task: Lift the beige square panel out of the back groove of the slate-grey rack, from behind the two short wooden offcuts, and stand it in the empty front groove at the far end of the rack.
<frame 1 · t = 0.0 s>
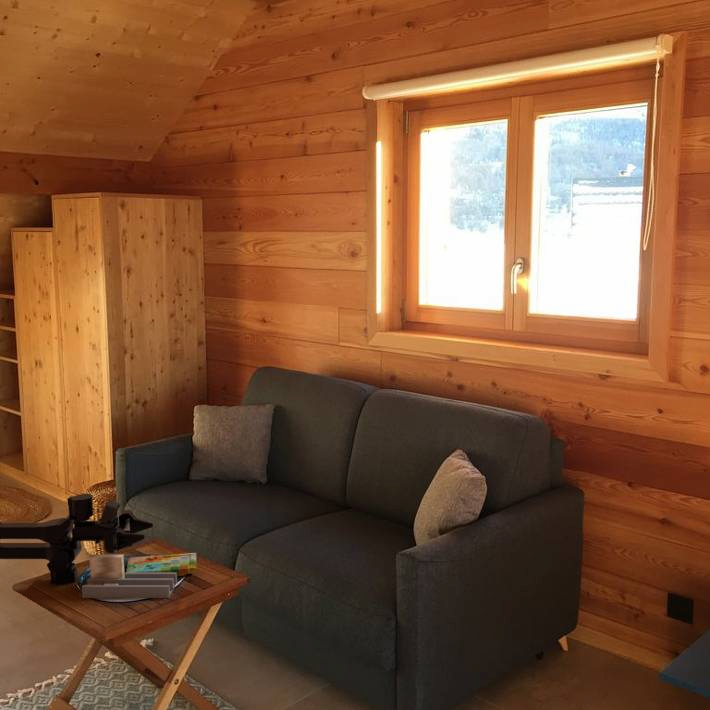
hand: (148, 530, 250), 17 cm above the table, tool horizontal, fingers open, 9 cm apart
offcut light: (110, 592, 245), point 1 cm above the table, touching rack
beige square panel: (108, 586, 249), point 1 cm above the table, touching rack
puzzle game: (162, 576, 260), on the table
offcut dark: (94, 592, 245), point 1 cm above the table, touching rack
rack: (130, 594, 247), on the table
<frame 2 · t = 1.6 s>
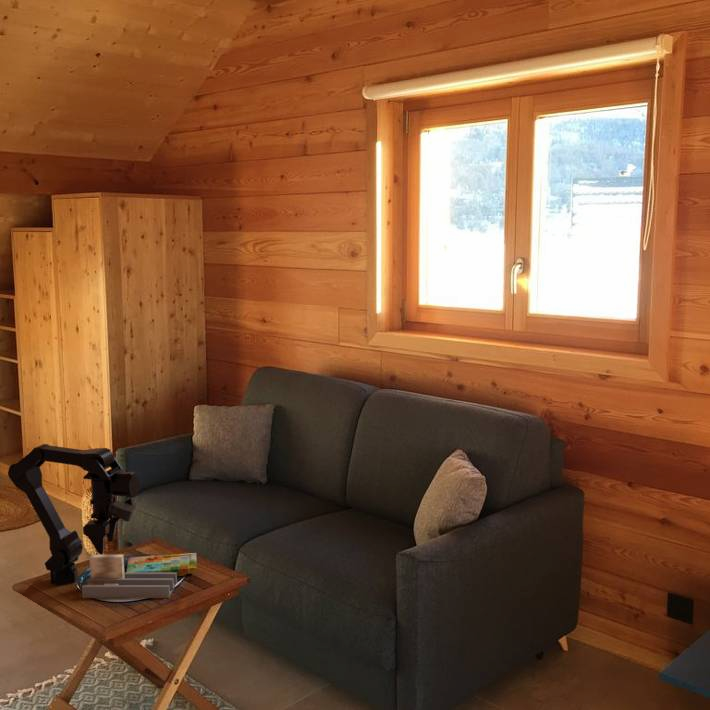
hand: (106, 547, 247), 13 cm above the table, tool pointing down, fingers open, 9 cm apart
nothing on the table moved.
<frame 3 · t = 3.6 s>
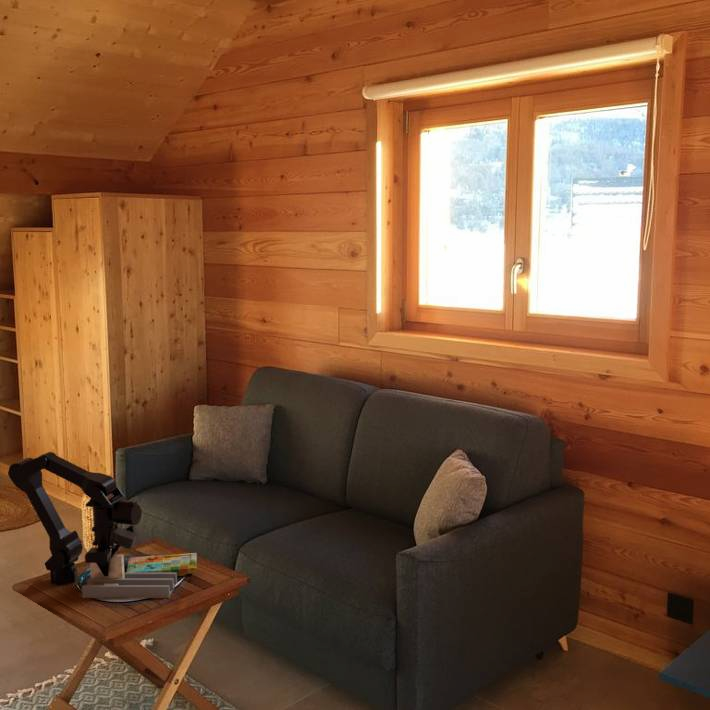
hand: (107, 574, 248), 5 cm above the table, tool pointing down, fingers closed on beige square panel, 2 cm apart
beige square panel: (108, 586, 249), point 1 cm above the table, touching gripper, rack
everything else where it was.
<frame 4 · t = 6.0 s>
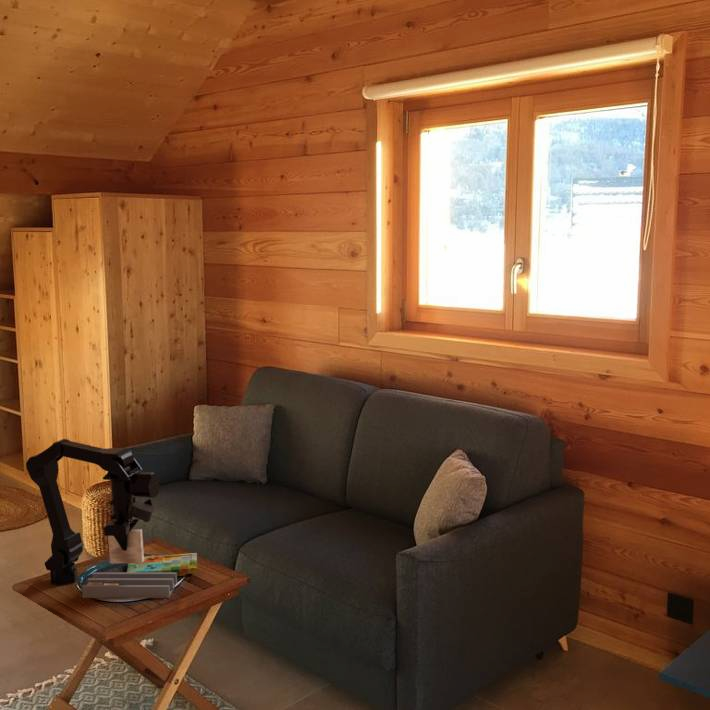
hand: (126, 548, 245), 13 cm above the table, tool pointing down, fingers closed on beige square panel
beige square panel: (127, 561, 246), point 10 cm above the table, touching gripper
everything else where it was.
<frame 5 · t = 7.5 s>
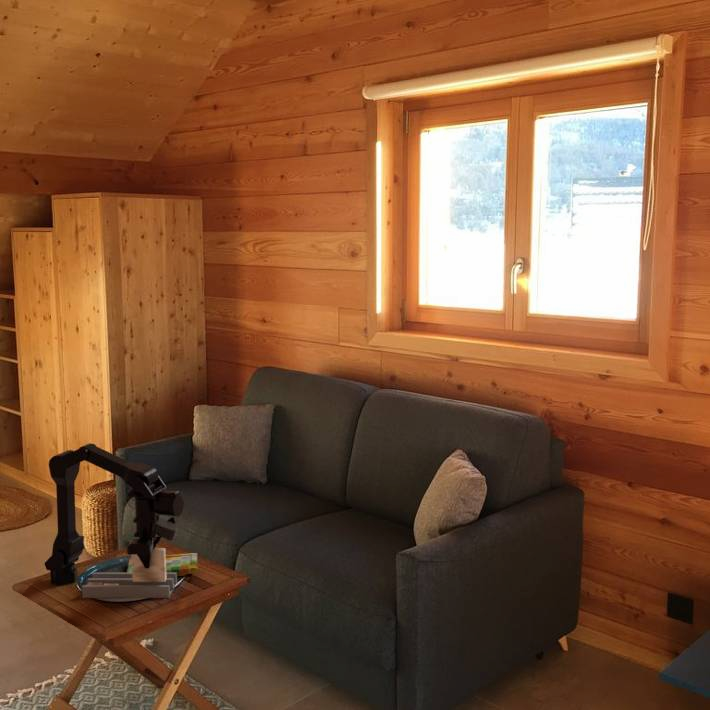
hand: (148, 566, 243), 9 cm above the table, tool pointing down, fingers closed on beige square panel
beige square panel: (149, 580, 244), point 5 cm above the table, touching gripper
everything else where it was.
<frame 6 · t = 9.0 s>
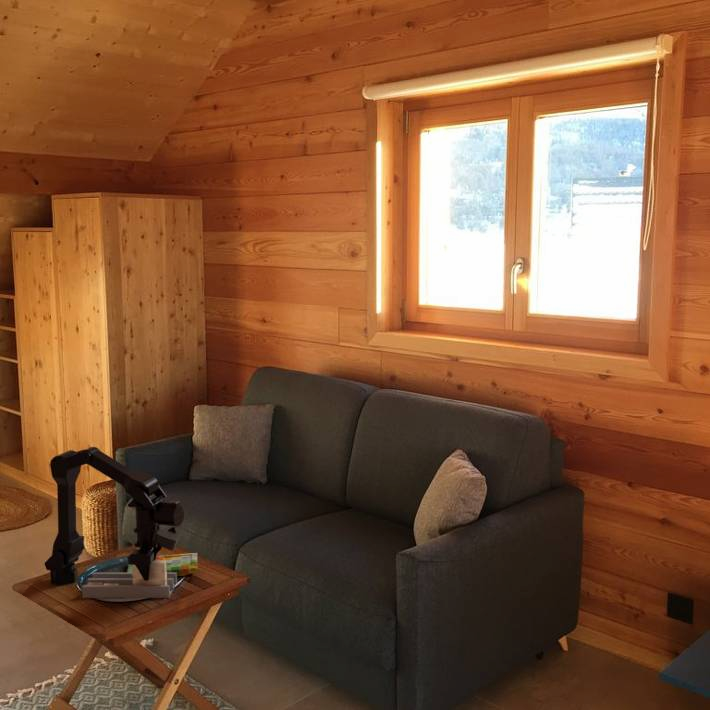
hand: (149, 576, 244), 6 cm above the table, tool pointing down, fingers open, 5 cm apart
beige square panel: (150, 592, 244), point 1 cm above the table, touching rack
everything else where it was.
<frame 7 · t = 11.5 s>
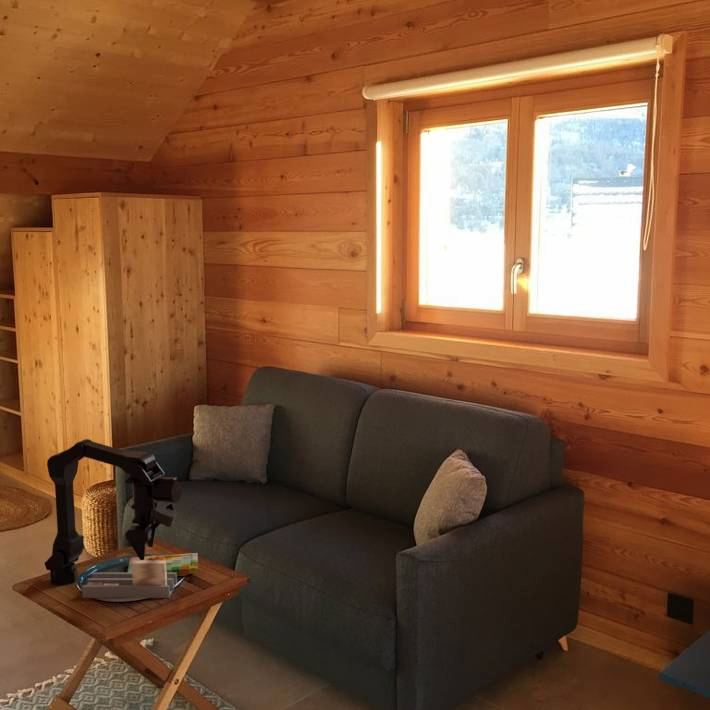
hand: (146, 553, 243), 13 cm above the table, tool pointing down, fingers open, 9 cm apart
nothing on the table moved.
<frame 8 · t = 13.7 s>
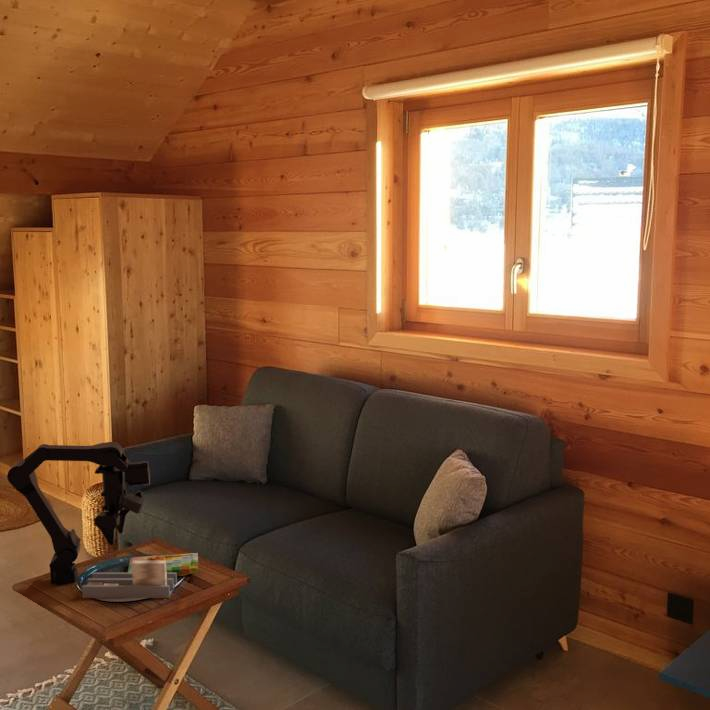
hand: (116, 538, 254), 13 cm above the table, tool pointing down, fingers open, 9 cm apart
nothing on the table moved.
at the end: beige square panel inside the target area (0.1 cm from its centre), point 1.5 cm above the table; beige square panel tilted 0°; the gripper is holding nothing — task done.
